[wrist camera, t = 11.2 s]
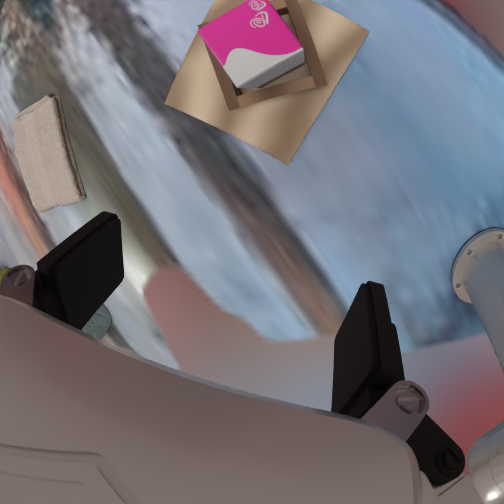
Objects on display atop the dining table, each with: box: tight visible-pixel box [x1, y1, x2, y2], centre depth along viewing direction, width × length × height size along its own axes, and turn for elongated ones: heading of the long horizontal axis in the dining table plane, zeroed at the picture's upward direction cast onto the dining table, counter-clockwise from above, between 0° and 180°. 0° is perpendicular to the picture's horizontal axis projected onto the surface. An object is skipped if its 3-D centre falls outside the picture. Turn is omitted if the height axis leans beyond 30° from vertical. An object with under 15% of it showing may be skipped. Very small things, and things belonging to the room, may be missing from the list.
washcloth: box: [12, 95, 86, 212], centre depth 38 cm, size 12×18×3 cm, turn 10°
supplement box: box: [198, 0, 305, 88], centre depth 22 cm, size 6×6×12 cm
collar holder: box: [165, 0, 369, 165], centre depth 27 cm, size 16×18×4 cm
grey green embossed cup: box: [81, 304, 112, 340], centre depth 50 cm, size 10×10×12 cm
